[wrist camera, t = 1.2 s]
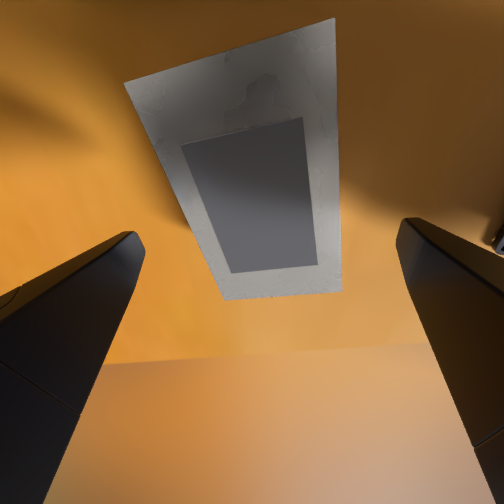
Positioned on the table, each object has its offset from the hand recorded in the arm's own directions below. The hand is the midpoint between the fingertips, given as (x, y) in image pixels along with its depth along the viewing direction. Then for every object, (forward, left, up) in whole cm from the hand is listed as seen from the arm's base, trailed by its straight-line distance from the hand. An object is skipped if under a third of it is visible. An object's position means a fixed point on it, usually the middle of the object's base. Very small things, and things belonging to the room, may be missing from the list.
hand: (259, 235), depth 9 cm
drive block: (0, 0, -7) cm, 7 cm away
